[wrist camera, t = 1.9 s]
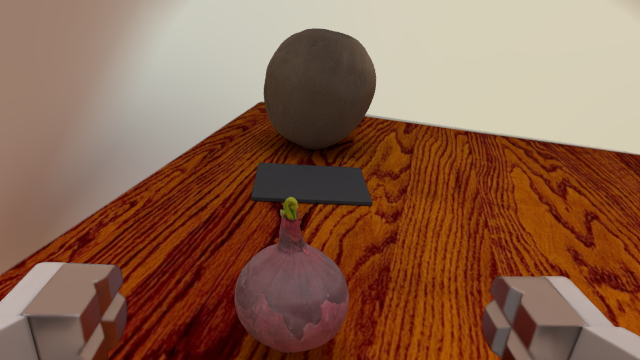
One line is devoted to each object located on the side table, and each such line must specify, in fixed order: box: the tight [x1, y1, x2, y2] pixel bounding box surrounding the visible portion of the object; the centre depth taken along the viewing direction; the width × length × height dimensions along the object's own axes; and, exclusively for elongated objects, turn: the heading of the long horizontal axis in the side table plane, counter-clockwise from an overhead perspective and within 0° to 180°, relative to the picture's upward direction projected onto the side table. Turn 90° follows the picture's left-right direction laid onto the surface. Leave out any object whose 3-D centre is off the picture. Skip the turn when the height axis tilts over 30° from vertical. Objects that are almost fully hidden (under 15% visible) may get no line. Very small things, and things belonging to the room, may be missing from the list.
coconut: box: [264, 29, 376, 150], centre depth 55 cm, size 14×14×15 cm
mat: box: [251, 163, 372, 206], centre depth 46 cm, size 12×9×1 cm
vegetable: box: [235, 197, 349, 353], centre depth 23 cm, size 6×6×10 cm
